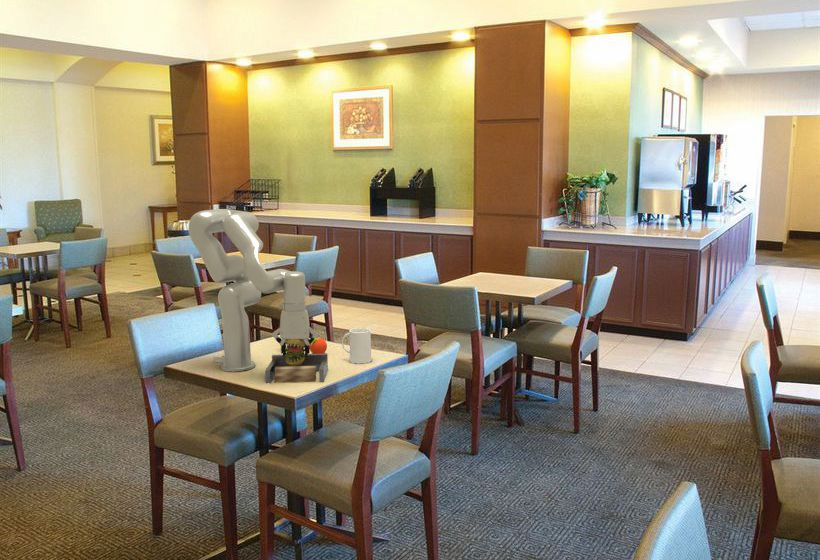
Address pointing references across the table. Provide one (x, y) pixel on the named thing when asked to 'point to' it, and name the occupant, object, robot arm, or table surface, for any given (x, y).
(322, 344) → the clementine
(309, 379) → the light brown long block
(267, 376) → the frame
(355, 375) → the table surface
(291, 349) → the burger with flag pick
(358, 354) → the mug
